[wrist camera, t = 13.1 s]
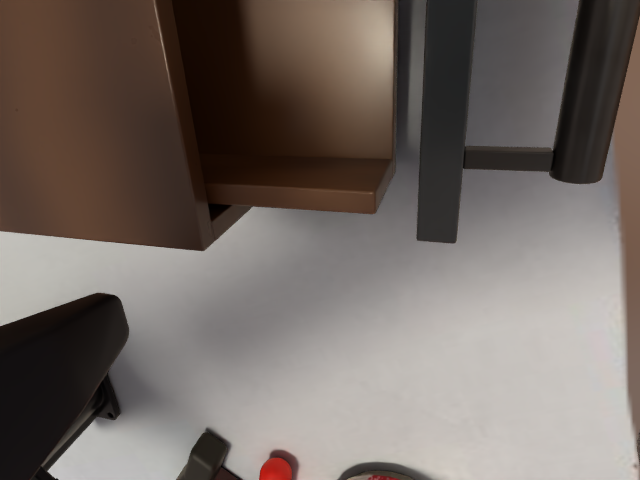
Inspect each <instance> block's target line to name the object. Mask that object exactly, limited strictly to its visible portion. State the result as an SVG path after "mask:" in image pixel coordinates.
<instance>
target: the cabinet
mask: <svg viewBox="0 0 640 480" xmlns="http://www.w3.org/2000/svg"><path fill="white" fill-rule="evenodd" d="M252 207H253V206H240V205H224V204H209V203H208V202H207V196H206V191H205V185H204V180H203V174H202V168H201V163H200V157H199V152H198V146H197V141H196V135H195V129H194V124H193V118H192V113H191V107H190V101H189V96H188V90H187V85H186V79H185V74H184V68H183V62H182V57H181V51H180V46H179V40H178V34H177V29H176V23H175V18H174V12H173V7H172V1H171V0H0V231H4V232H14V233H25V234H35V235H45V236H55V237H65V238H75V239H85V240H95V241H105V242H115V243H126V244H136V245H146V246H156V247H166V248H176V249H186V250H196V251H205V250H206V249H207V248H208V247H209V246H210V245H211V244H212V243H213V242H214V241H216V240H217V239H218V238H219V237H220V236H221V235H222V234H223V233H224V232H226V231H227V230H228V229H229V228H230V227H231V226H232V225H233V224H234V223H235V222H237V221H238V220H239V219H240V218H241V217H242V216H243V215H244V214H245V213H246V212H248V211H249V210H250V209H251V208H252Z"/></svg>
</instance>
